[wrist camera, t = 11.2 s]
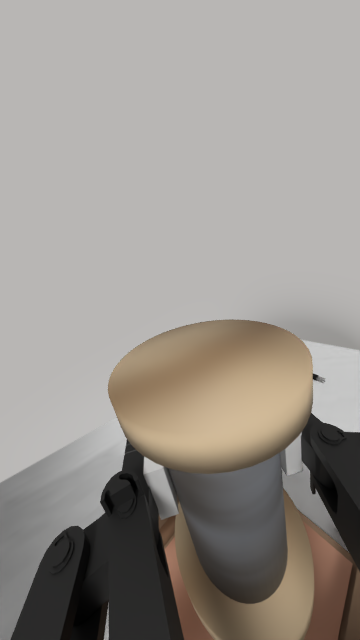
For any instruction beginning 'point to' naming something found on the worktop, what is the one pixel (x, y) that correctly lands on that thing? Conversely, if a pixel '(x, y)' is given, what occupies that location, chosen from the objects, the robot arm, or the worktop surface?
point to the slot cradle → (329, 588)
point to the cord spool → (227, 466)
